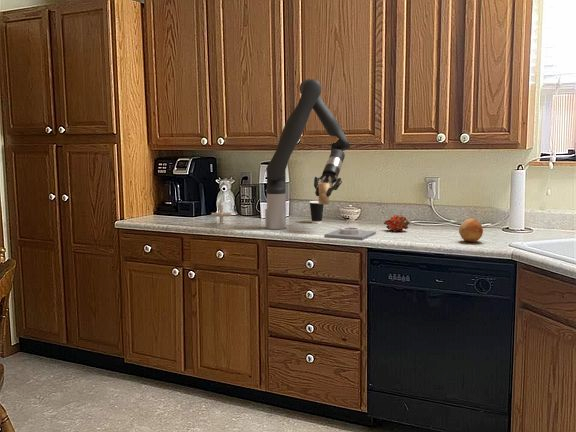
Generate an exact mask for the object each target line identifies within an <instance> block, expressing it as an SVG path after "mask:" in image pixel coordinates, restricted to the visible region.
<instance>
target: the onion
mask: <svg viewBox="0 0 576 432" xmlns="http://www.w3.org/2000/svg"><path fill="white" fill-rule="evenodd" d="M483 232H484V229H483V226H482V224H481V222H480V221H479V220H477V219H475V218H472V217H471V218H467V219H465V220H464V221H462V222H461V224H460V225H459V228H458V233H459V235H460V237H461V239H462V240H463V241H465V242H469V243H475V242H478V241H479V240H480V239H481V238H482V237H483V234H484V233H483Z"/></svg>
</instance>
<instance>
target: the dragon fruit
mask: <svg viewBox="0 0 576 432" xmlns="http://www.w3.org/2000/svg"><path fill="white" fill-rule="evenodd" d="M409 224H410V222H409V220H408V219H407V217H405V216H404V215H401V214H399V215H397V214H394V215H393V216H391V217H390V218H389V219H386V220H384V222H383V225H386V228H387V230H389V231H393V232H397V231H399V232H403V229H404V230H408V228H409V227H408V226H409Z"/></svg>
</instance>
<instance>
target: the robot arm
mask: <svg viewBox="0 0 576 432" xmlns="http://www.w3.org/2000/svg"><path fill="white" fill-rule="evenodd" d="M299 92H300V97H299V100H298V103H297V105H296V106H295V107H294V110H293V111H292V112H291V113H290V115H289V116H288V118H287V120H286V121H285V124H284V126H283V128H282V131H281V134H280V137H279V141H278V143H277V144H278V145H277V148H276V150H275V152H274V154H273V156H272V158H271V159H270V161H269V163H268V164H267V166H266V170H265V171H266V208H265V210H264V213H265V219H264V221H265V222H264V223H265V229H269V230H284V229H286V227H287V221H286V220H287V219H286V217H287V216H286V215H287V210H286V209H287V208H286V206H287V205H286V199H287V198H286V197H287V196H286V195H287V194H286V190H287V189H286V188H287V187H286V185H287V184H286V180H287V179H286V178H287V177H286V175H287V174H286V172H287V166H288V163H289V161H290V157H291V156H292V153H293V151H295V149H296V146H297V145H298V143H299V141H300V139H301V137H302V135H303V132H304V129H305V128H306V126H307V122H308V121H309V119H310V118H309V117H310V114H311V112H312V110H313V111H314V112H315V114H316V116H317V117H318V119H319V121H320V122H321V124H322V126H323V128H324V130H325V131H326V133H327V135H329V137H336V138H339V140H338V141H337V142H336V143H333V144H332V143H331V144H330V145H331V146H330V154H329V157H328V159H327V161H326V162H325V165H324V168H323V171H322V173H321V174H322V175H321V176H320V177H317V176H314V178H313V179H314V180H313V187H314V189H315V196H316V197H319V182H322V181H324V182H329V188H328V191H327V193H326V195H327V197H329V198H330V196H331V195H332V192H333V191H337V190H338V189H339V187H340V186H341V184H342V183H343V181H342V178H341V177H339V174H340V173H341V170H342V165H343V162H344V159H345V155H346V154H345V151H346V150H350V149H351V148H350V145H349V142H348V140H347V138H346V136H345V134H344V132H343V131H342V129H343V128H342V127H341V124H340V123H339V122H338V119H337V118H336V116H335V115H334V113H332V111H331V110H330V109H329V108H328V106H327V105H326V103H325V102H324V100H323V99H322V97H321V93H322V85H321V82H319V81H318V79H313V78H312V79H311V78H307V79H304V80H302V81H301V82H300V85H299ZM341 128H342V129H341ZM349 148H350V149H349ZM338 177H339V178H338Z"/></svg>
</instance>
